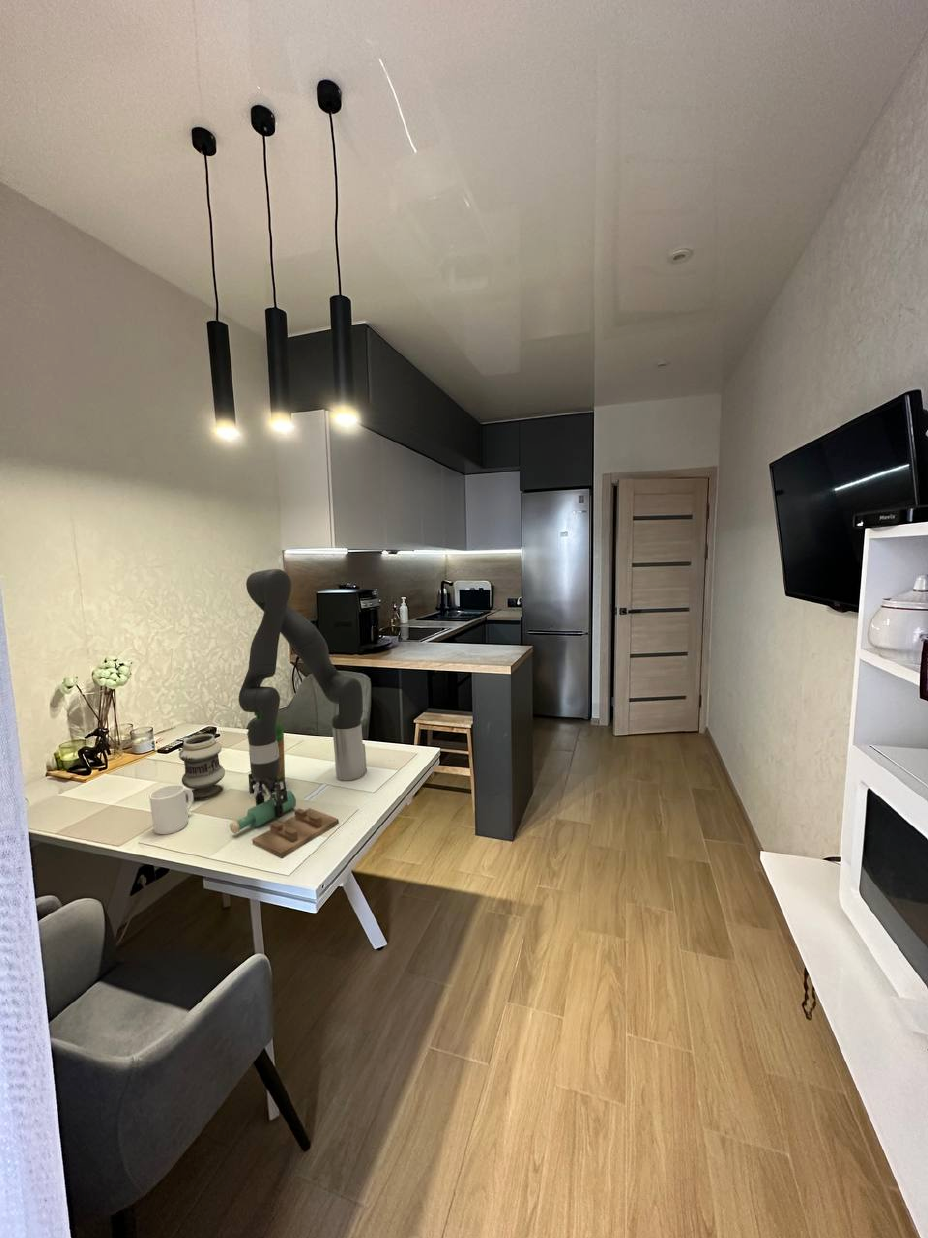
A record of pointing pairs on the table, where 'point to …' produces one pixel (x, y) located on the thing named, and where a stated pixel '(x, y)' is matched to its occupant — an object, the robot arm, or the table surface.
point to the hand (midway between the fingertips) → (269, 812)
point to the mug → (170, 808)
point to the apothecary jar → (202, 766)
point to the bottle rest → (294, 831)
